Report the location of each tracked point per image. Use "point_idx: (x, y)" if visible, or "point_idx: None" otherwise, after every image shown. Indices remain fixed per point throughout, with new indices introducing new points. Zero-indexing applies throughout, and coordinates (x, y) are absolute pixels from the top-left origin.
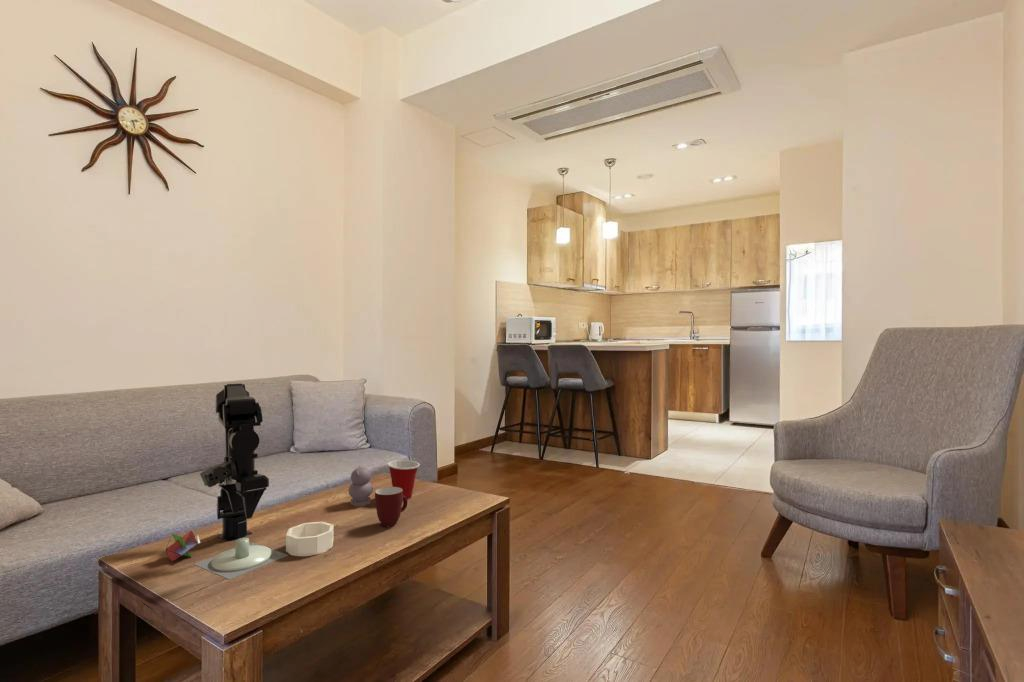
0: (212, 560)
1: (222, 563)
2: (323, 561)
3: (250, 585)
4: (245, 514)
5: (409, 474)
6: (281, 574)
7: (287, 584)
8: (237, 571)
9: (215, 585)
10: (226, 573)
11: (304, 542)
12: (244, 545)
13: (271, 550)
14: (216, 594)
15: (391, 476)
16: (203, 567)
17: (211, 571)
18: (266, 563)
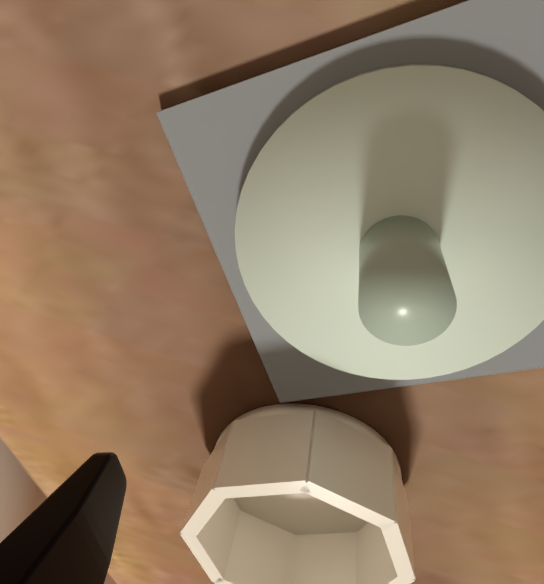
0: (488, 83)
1: (374, 129)
2: (150, 450)
3: (61, 184)
4: (82, 488)
5: None
6: (112, 316)
7: (4, 299)
8: (238, 177)
9: (152, 30)
10: (250, 120)
11: (206, 485)
12: (358, 293)
13: None
14: (28, 10)
15: None
16: (466, 8)
17: (349, 46)
18: (247, 311)
